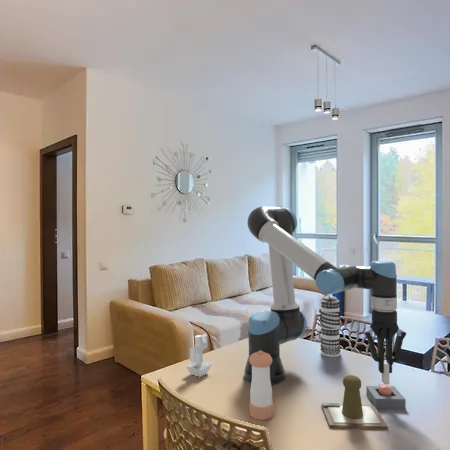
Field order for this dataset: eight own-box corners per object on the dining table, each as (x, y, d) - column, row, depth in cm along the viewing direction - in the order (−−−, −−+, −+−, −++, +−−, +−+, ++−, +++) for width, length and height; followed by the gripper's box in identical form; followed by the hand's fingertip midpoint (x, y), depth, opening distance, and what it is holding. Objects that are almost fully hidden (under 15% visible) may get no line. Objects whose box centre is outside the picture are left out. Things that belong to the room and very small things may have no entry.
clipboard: (329, 427, 103) (329, 422, 103) (321, 406, 115) (321, 402, 115) (388, 429, 102) (388, 424, 102) (373, 407, 114) (373, 403, 114)
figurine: (184, 376, 139) (183, 337, 139) (199, 368, 147) (198, 331, 146) (199, 381, 135) (198, 340, 135) (213, 372, 143) (213, 333, 143)
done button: (381, 397, 116) (381, 389, 116) (377, 391, 119) (376, 384, 119) (393, 397, 115) (393, 389, 115) (389, 391, 119) (388, 384, 119)
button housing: (375, 408, 113) (375, 398, 113) (366, 394, 122) (366, 385, 122) (405, 408, 113) (405, 399, 113) (394, 395, 122) (394, 386, 122)
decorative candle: (329, 358, 155) (328, 299, 155) (315, 351, 163) (314, 296, 163) (346, 355, 158) (345, 297, 158) (331, 348, 167) (331, 294, 167)
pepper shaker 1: (271, 407, 115) (270, 346, 115) (275, 419, 108) (274, 354, 107) (248, 407, 115) (247, 347, 115) (250, 420, 107) (249, 355, 107)
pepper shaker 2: (364, 420, 105) (364, 382, 105) (342, 418, 106) (342, 380, 106) (361, 409, 111) (361, 373, 111) (340, 407, 112) (340, 372, 112)
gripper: (367, 312, 114) (368, 387, 114) (410, 312, 113) (411, 388, 113) (359, 306, 121) (361, 377, 121) (400, 306, 120) (401, 377, 120)
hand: (385, 382), depth 117 cm, fingers closed
